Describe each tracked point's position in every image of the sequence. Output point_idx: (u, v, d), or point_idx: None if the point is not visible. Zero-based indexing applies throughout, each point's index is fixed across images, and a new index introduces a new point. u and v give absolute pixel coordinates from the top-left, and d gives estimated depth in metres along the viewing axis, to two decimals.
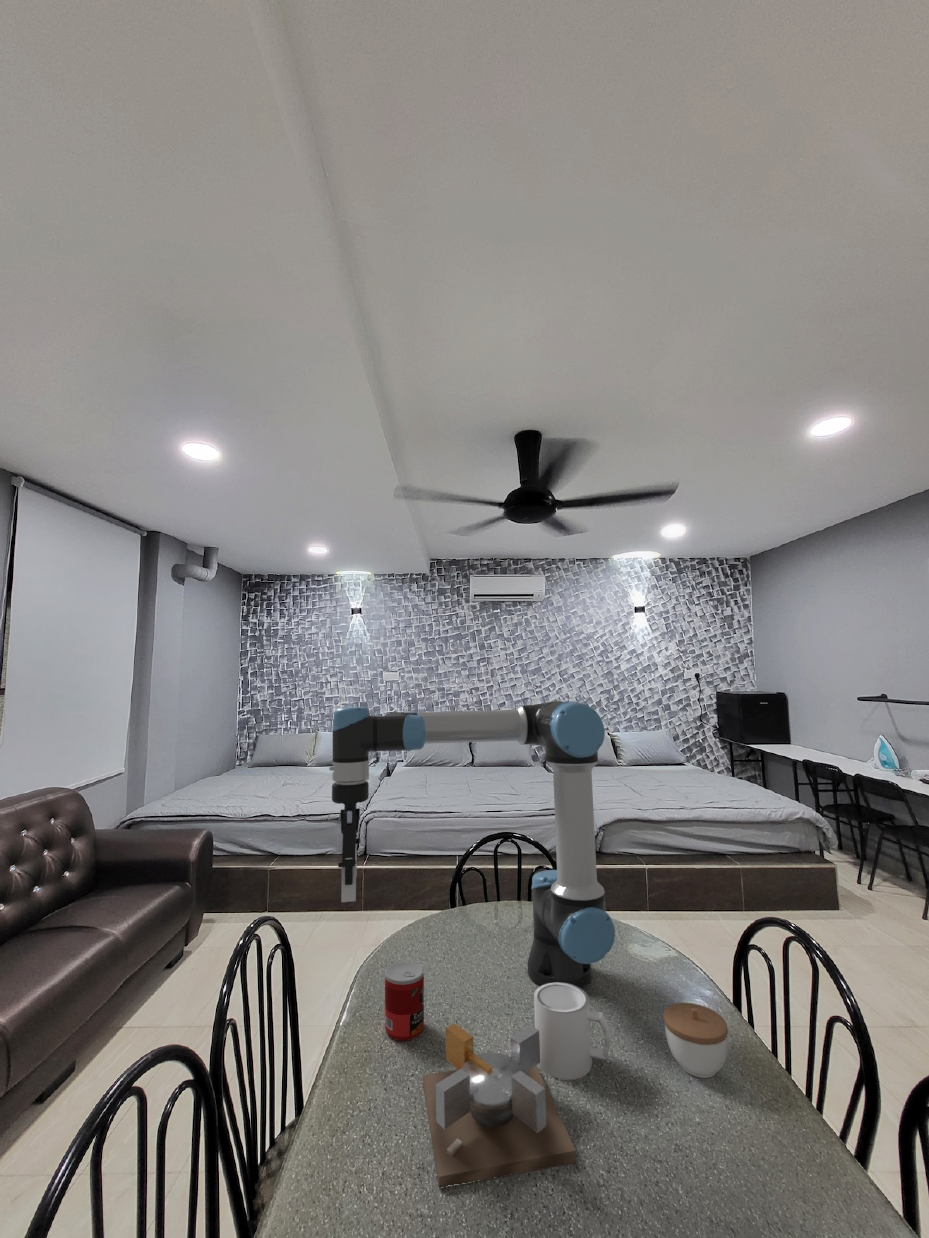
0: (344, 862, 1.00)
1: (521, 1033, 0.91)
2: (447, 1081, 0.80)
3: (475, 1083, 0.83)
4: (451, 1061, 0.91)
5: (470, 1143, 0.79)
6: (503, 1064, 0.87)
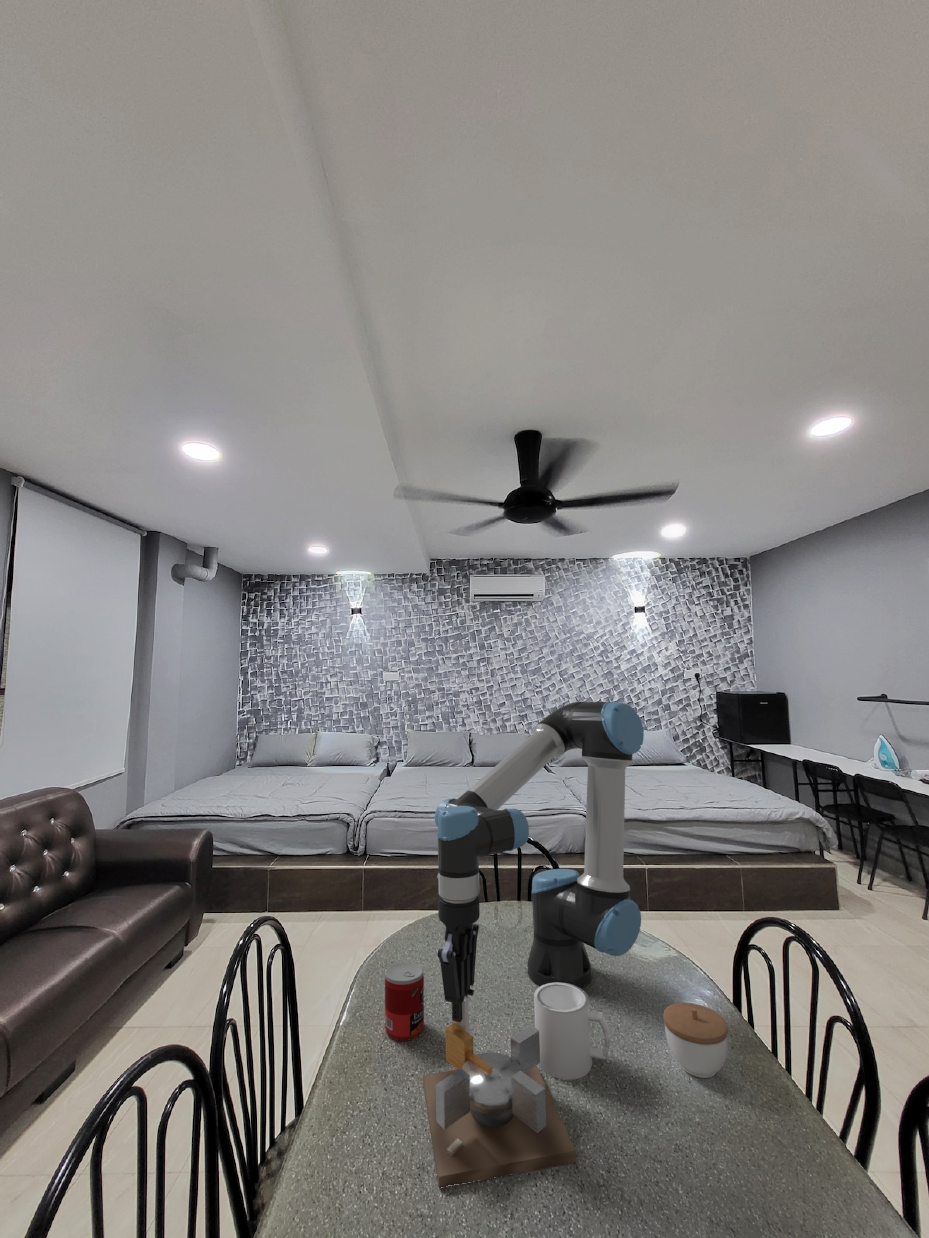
0: (447, 999, 0.93)
1: (521, 1033, 0.91)
2: (447, 1081, 0.80)
3: (475, 1083, 0.83)
4: (451, 1061, 0.91)
5: (470, 1143, 0.79)
6: (503, 1064, 0.87)
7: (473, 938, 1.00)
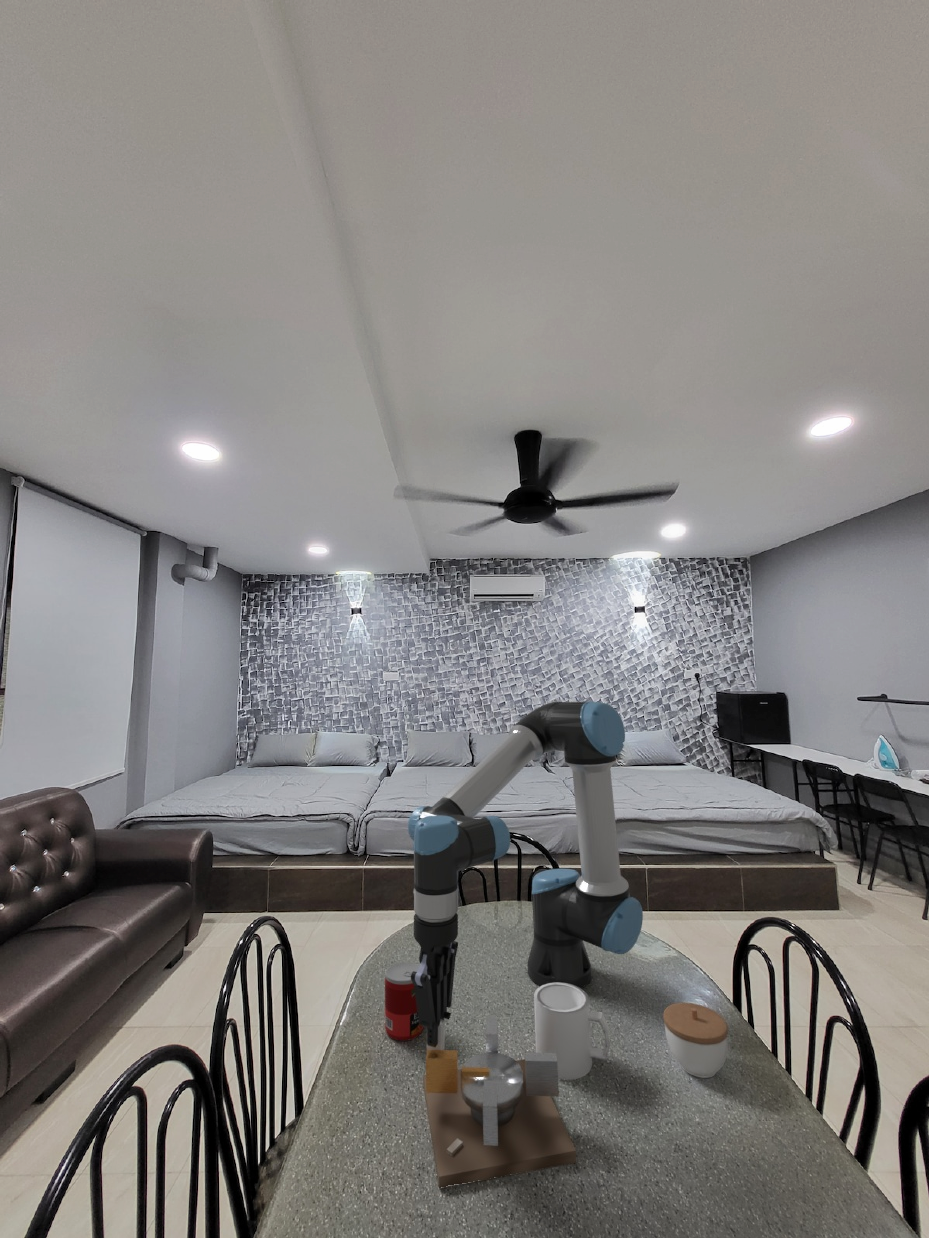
0: (421, 1023, 0.86)
1: (488, 1025, 0.94)
2: (488, 1096, 0.77)
3: None
4: (436, 1089, 0.85)
5: (470, 1143, 0.79)
6: (491, 1061, 0.88)
7: (451, 957, 0.93)
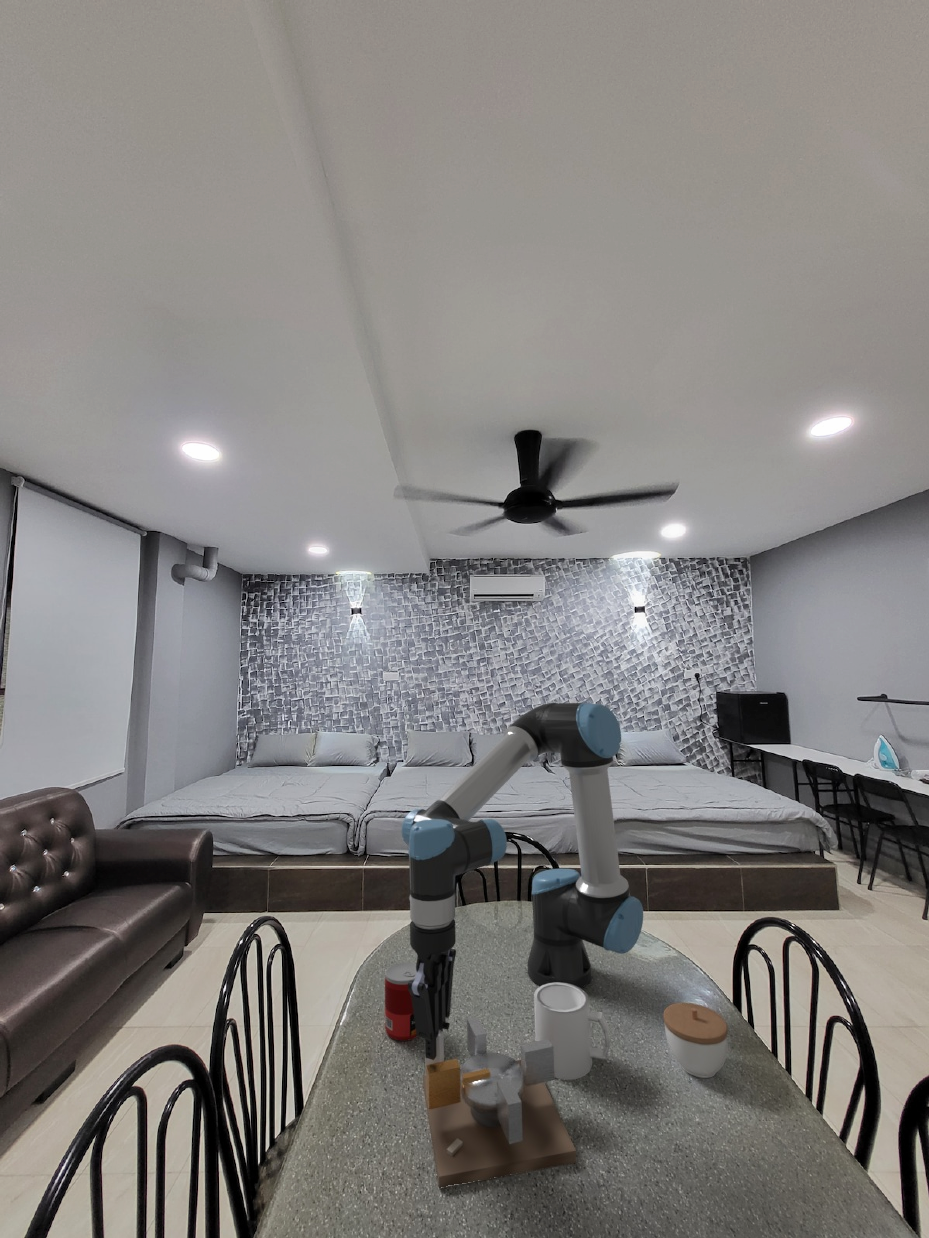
0: (419, 1035, 0.83)
1: (474, 1027, 0.93)
2: (509, 1095, 0.77)
3: None
4: (439, 1103, 0.82)
5: (470, 1143, 0.79)
6: (486, 1061, 0.88)
7: (449, 965, 0.91)
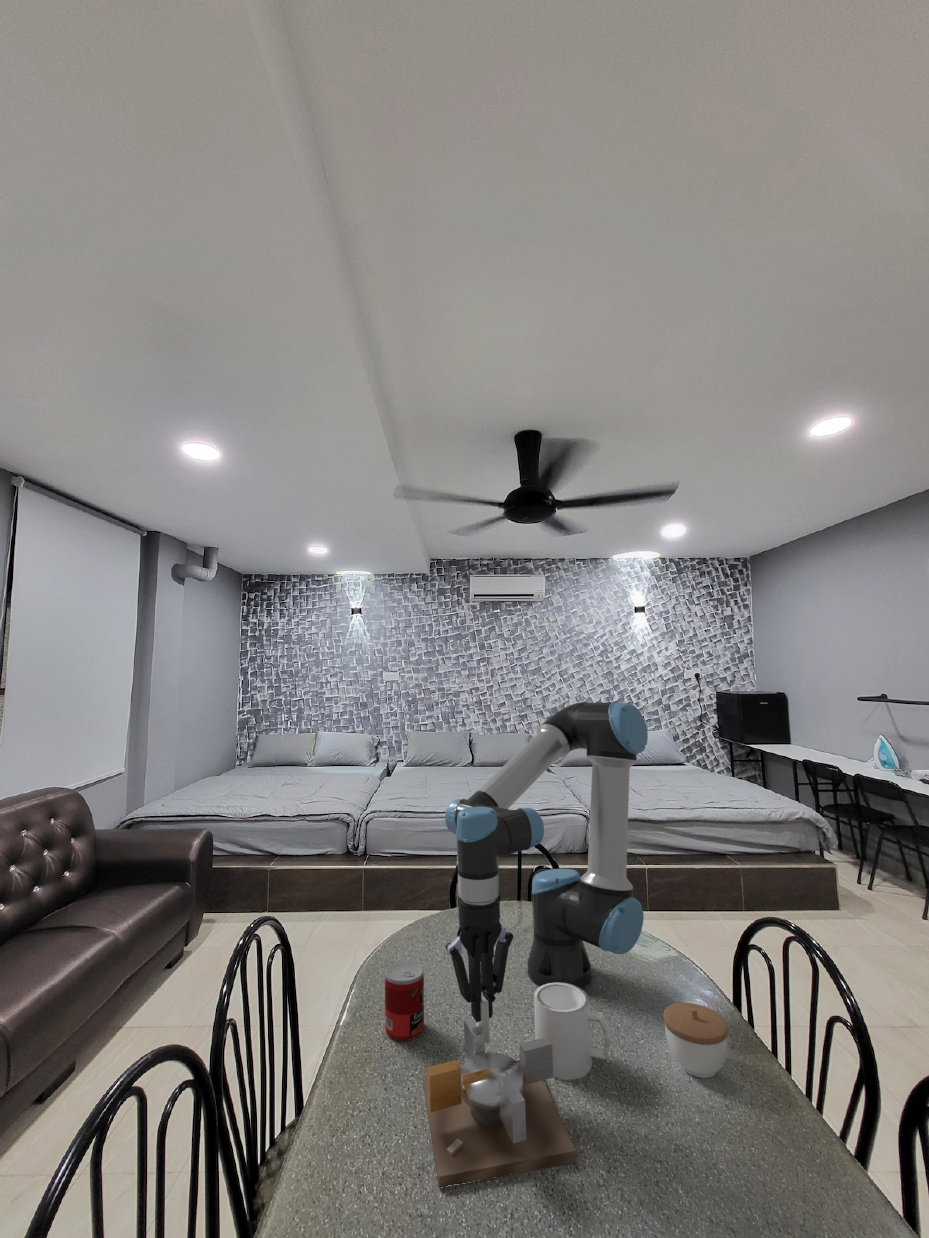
0: (461, 994, 0.94)
1: (471, 1028, 0.93)
2: (512, 1094, 0.78)
3: (499, 1088, 0.82)
4: (440, 1106, 0.82)
5: (470, 1143, 0.79)
6: (485, 1061, 0.88)
7: (503, 945, 0.97)
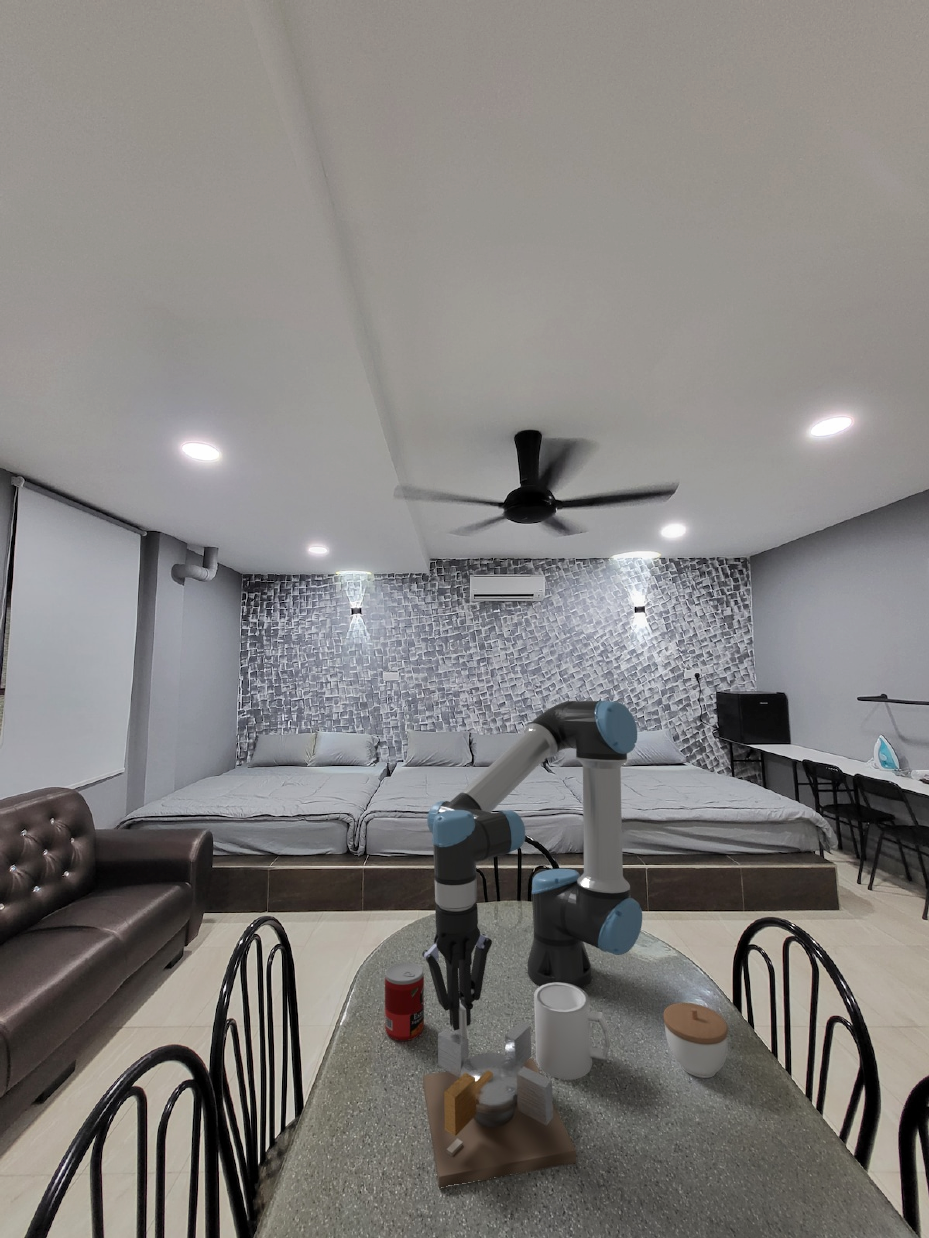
0: (439, 1002, 0.92)
1: (452, 1038, 0.90)
2: (538, 1080, 0.80)
3: (508, 1082, 0.83)
4: (462, 1125, 0.78)
5: (470, 1143, 0.79)
6: (477, 1065, 0.87)
7: (481, 951, 0.95)
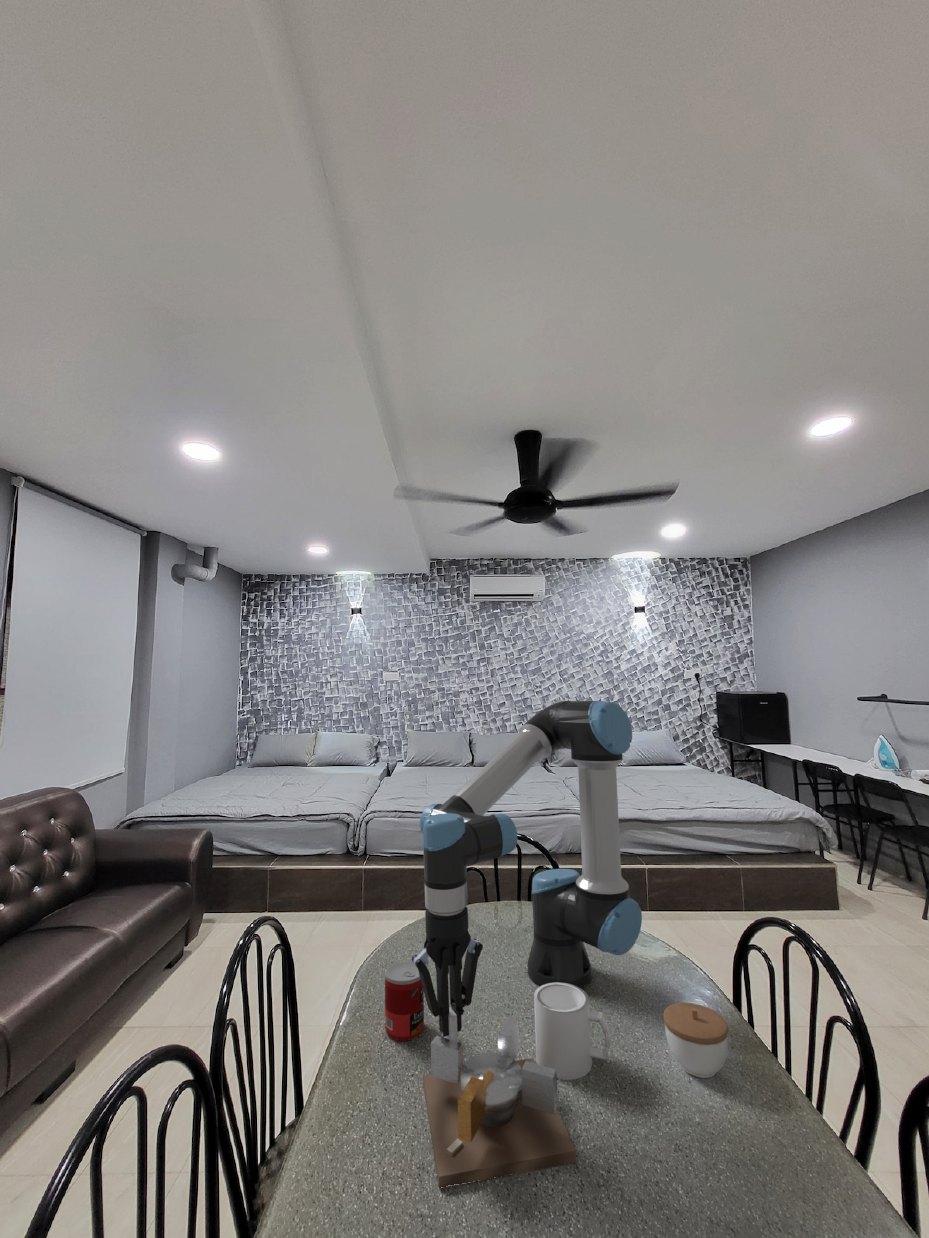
0: (429, 1008, 0.91)
1: (447, 1045, 0.89)
2: (543, 1071, 0.82)
3: (511, 1079, 0.84)
4: (475, 1130, 0.77)
5: (470, 1143, 0.79)
6: (475, 1068, 0.87)
7: (472, 956, 0.94)
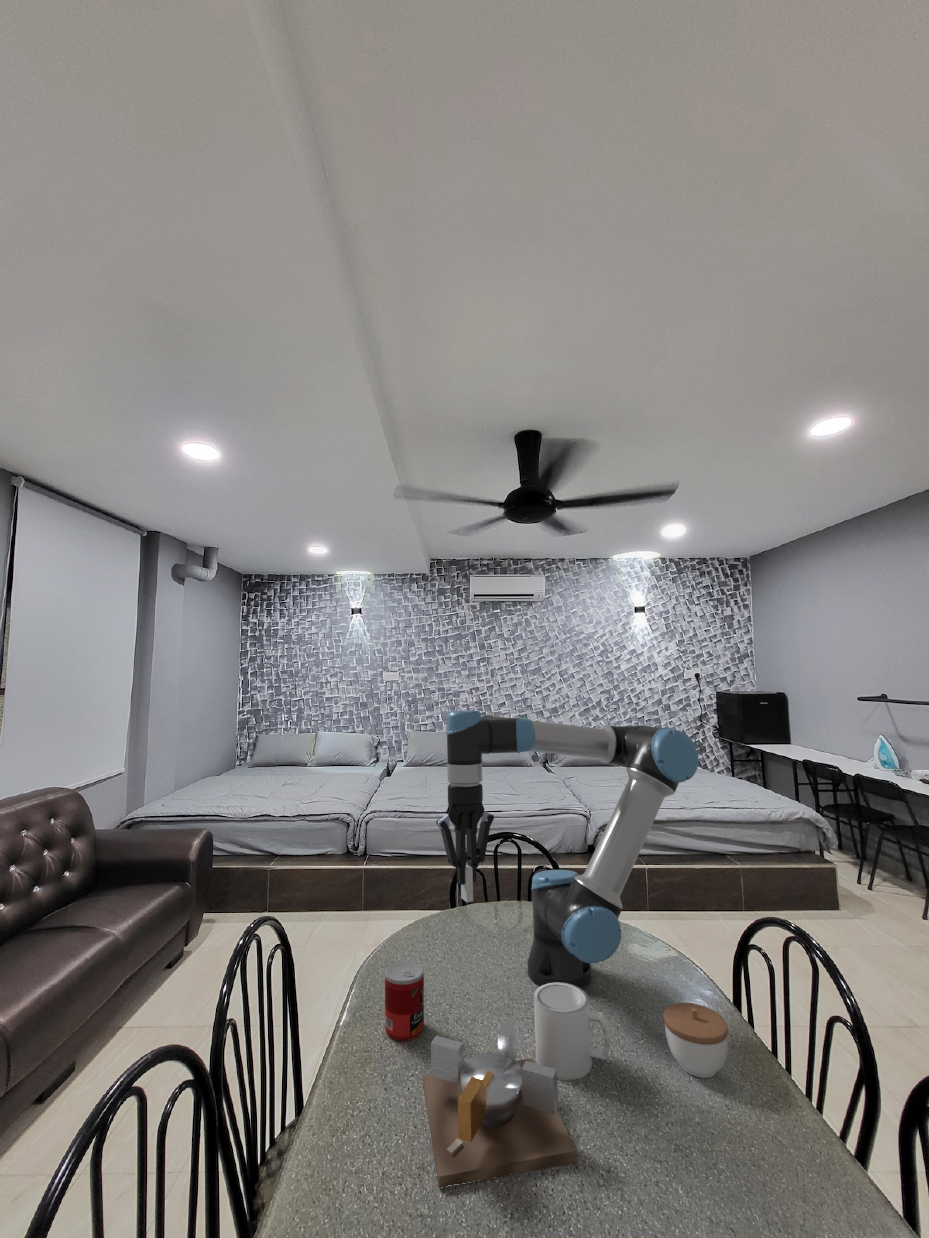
0: (449, 862, 1.12)
1: (447, 1045, 0.89)
2: (543, 1071, 0.82)
3: (511, 1079, 0.84)
4: (475, 1130, 0.77)
5: (470, 1143, 0.79)
6: (475, 1068, 0.87)
7: (485, 824, 1.14)
